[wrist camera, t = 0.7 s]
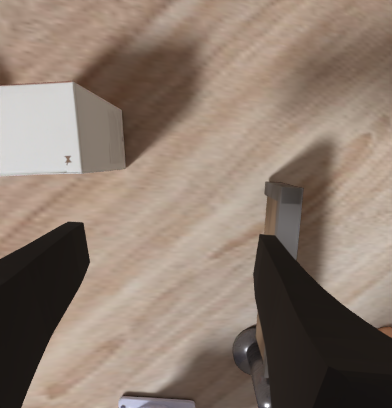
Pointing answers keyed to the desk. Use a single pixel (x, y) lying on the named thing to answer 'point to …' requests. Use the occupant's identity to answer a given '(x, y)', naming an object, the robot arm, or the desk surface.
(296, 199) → the gate leaf
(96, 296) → the desk surface
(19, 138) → the small box
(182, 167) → the desk surface
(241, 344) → the gate post
